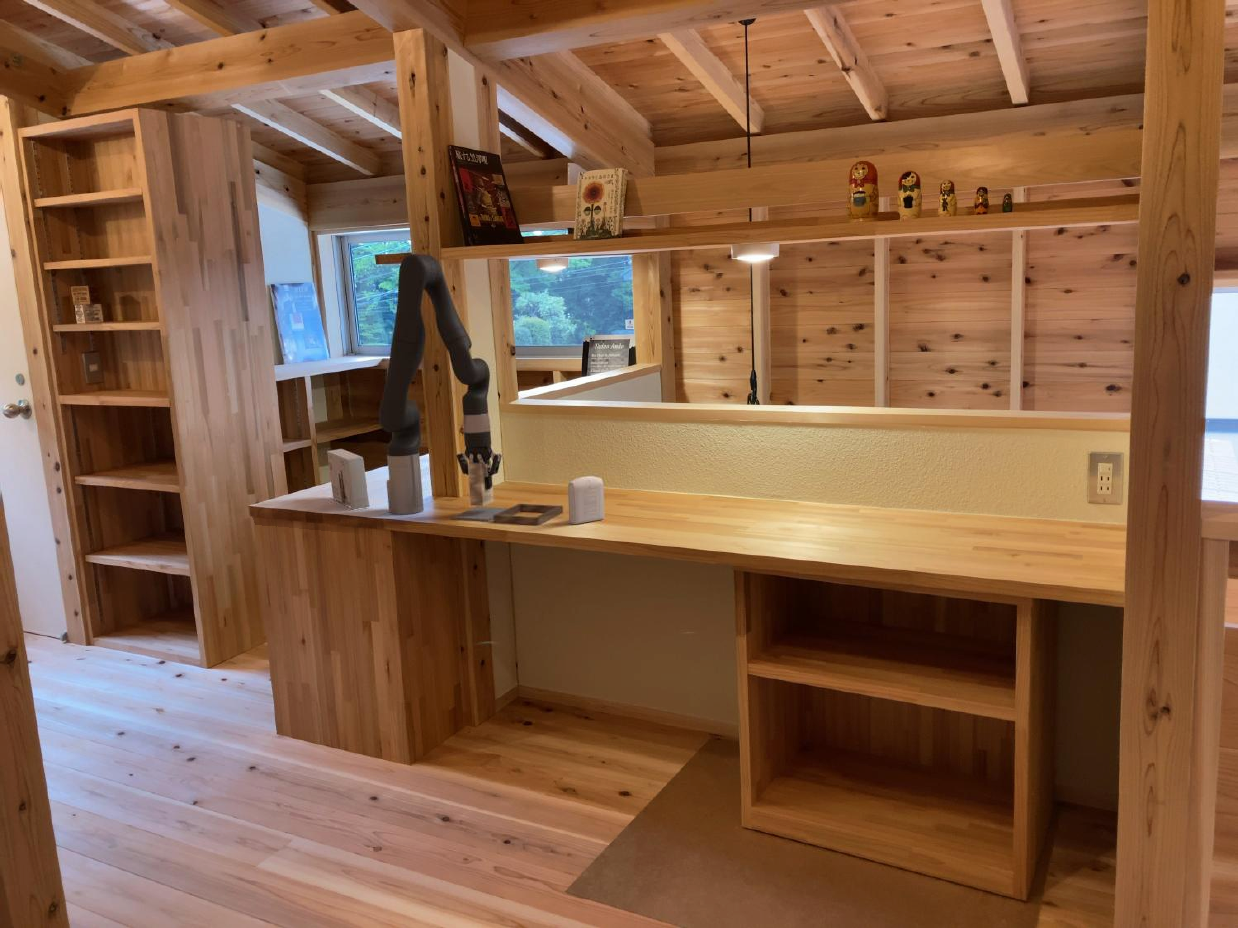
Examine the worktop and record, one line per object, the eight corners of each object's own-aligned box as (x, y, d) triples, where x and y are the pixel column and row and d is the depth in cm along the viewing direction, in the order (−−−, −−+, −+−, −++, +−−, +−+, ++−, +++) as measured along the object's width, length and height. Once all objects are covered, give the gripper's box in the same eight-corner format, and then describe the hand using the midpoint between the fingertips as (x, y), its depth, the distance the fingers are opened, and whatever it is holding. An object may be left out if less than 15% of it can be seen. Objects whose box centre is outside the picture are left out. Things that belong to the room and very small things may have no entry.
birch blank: (470, 505, 273) (467, 463, 271) (481, 500, 279) (478, 460, 277) (483, 505, 272) (479, 464, 270) (493, 501, 277) (490, 460, 275)
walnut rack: (493, 522, 266) (493, 515, 266) (519, 510, 280) (519, 503, 279) (538, 525, 261) (538, 518, 260) (563, 512, 274) (562, 505, 274)
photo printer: (598, 516, 268) (596, 473, 265) (607, 519, 264) (605, 475, 262) (566, 522, 262) (564, 478, 260) (575, 525, 259) (572, 480, 256)
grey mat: (451, 519, 272) (451, 517, 272) (477, 508, 284) (477, 506, 284) (488, 521, 267) (488, 519, 267) (512, 510, 280) (512, 508, 280)
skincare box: (331, 499, 306) (326, 450, 303) (347, 497, 309) (343, 448, 306) (352, 510, 289) (347, 458, 286) (370, 507, 292) (365, 456, 289)
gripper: (448, 431, 271) (453, 490, 274) (492, 431, 265) (496, 492, 268) (462, 427, 278) (466, 485, 281) (505, 427, 272) (509, 487, 275)
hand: (481, 488), depth 274 cm, fingers closed on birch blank, 4 cm apart
